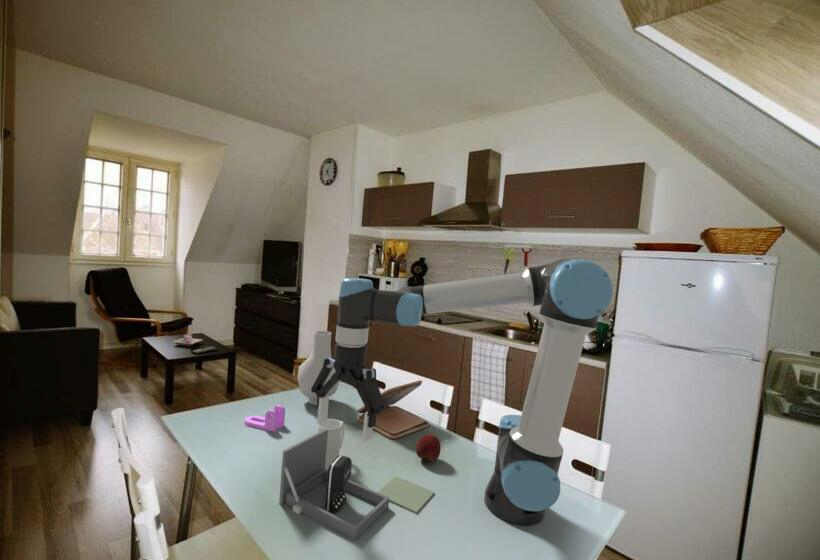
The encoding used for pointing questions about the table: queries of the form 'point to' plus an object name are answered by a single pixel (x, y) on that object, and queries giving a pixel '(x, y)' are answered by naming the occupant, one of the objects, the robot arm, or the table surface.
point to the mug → (332, 439)
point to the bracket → (268, 419)
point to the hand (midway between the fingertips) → (343, 430)
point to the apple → (428, 447)
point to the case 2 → (396, 414)
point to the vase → (316, 366)
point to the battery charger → (337, 483)
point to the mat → (406, 494)
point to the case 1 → (308, 470)
